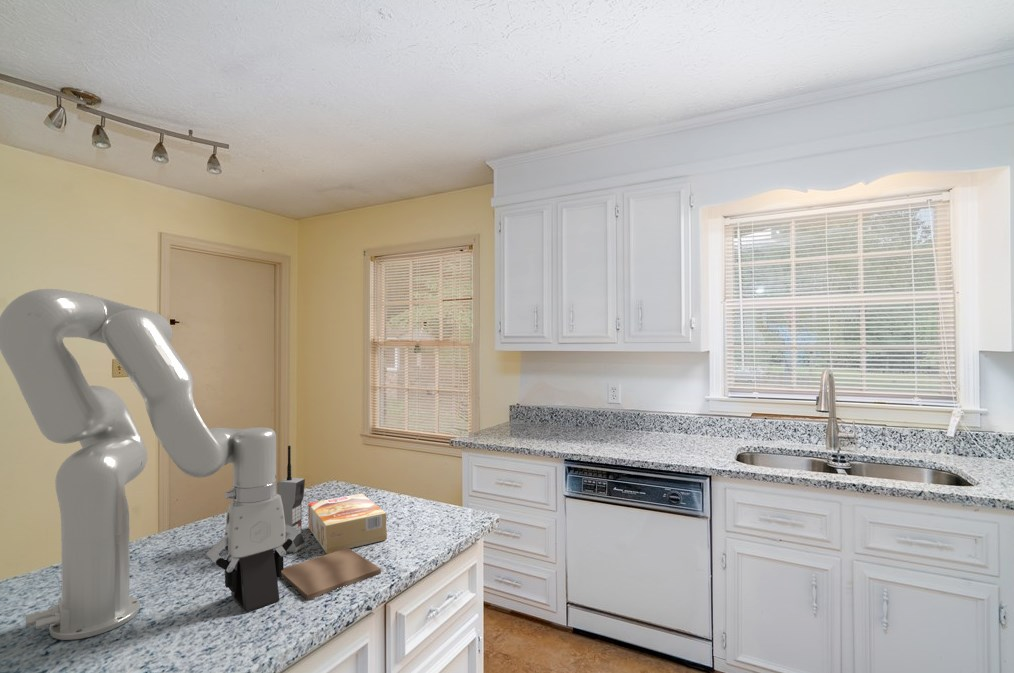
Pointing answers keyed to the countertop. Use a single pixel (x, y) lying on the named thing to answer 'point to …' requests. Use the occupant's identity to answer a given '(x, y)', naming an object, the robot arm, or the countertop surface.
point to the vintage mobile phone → (292, 504)
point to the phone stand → (256, 581)
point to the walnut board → (328, 573)
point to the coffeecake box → (346, 522)
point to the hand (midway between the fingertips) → (255, 581)
